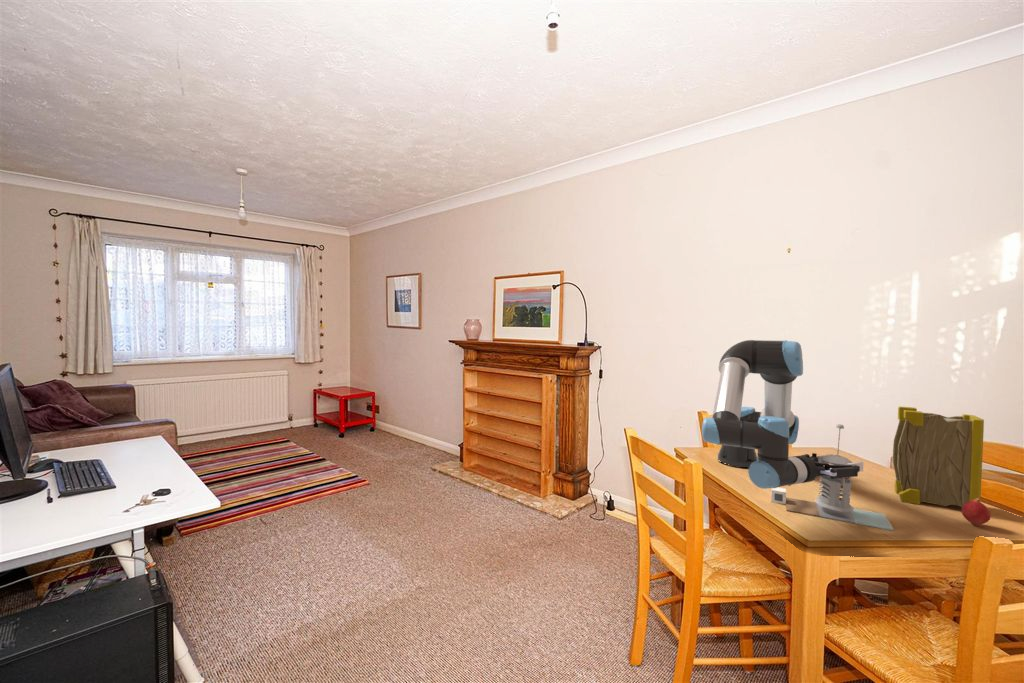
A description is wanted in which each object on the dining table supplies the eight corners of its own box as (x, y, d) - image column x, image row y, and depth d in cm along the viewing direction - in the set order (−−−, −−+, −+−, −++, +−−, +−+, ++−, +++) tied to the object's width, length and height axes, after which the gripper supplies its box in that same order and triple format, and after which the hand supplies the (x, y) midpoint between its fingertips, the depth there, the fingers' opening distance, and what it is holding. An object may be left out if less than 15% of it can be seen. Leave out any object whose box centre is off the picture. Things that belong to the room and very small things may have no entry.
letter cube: (771, 502, 145) (771, 490, 144) (771, 498, 148) (771, 486, 148) (785, 505, 143) (786, 492, 142) (785, 500, 146) (785, 488, 146)
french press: (843, 500, 141) (850, 421, 139) (864, 516, 129) (871, 431, 128) (808, 496, 143) (814, 419, 141) (826, 511, 131) (833, 427, 130)
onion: (956, 523, 130) (958, 496, 130) (967, 519, 133) (968, 493, 132) (984, 531, 125) (985, 503, 125) (994, 528, 127) (995, 500, 127)
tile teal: (855, 523, 129) (855, 522, 129) (848, 509, 139) (848, 508, 139) (893, 530, 125) (893, 529, 125) (883, 515, 135) (883, 513, 135)
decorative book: (970, 503, 145) (974, 411, 144) (982, 515, 136) (986, 417, 135) (890, 491, 156) (893, 405, 155) (896, 501, 147) (899, 410, 146)
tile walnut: (786, 510, 137) (786, 509, 137) (785, 498, 148) (785, 497, 148) (819, 517, 133) (819, 515, 133) (816, 503, 144) (816, 502, 144)
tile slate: (819, 517, 133) (819, 515, 133) (816, 503, 144) (816, 502, 144) (855, 523, 129) (855, 522, 129) (848, 509, 139) (848, 508, 139)
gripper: (763, 472, 139) (812, 464, 147) (832, 495, 120) (884, 485, 128) (764, 448, 138) (813, 442, 147) (833, 467, 119) (885, 459, 128)
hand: (846, 462), depth 138 cm, fingers closed on french press, 8 cm apart
